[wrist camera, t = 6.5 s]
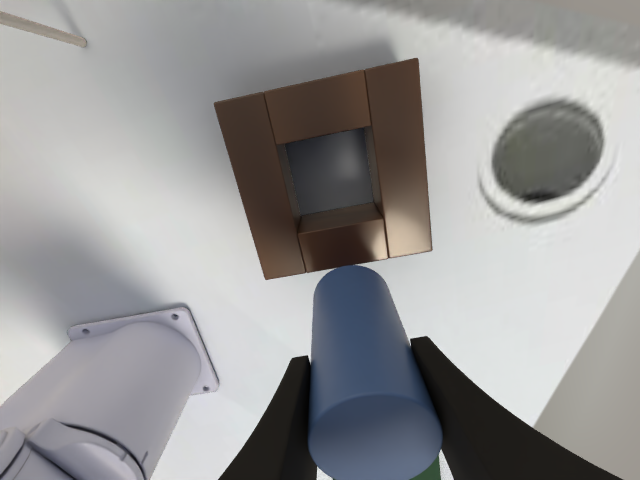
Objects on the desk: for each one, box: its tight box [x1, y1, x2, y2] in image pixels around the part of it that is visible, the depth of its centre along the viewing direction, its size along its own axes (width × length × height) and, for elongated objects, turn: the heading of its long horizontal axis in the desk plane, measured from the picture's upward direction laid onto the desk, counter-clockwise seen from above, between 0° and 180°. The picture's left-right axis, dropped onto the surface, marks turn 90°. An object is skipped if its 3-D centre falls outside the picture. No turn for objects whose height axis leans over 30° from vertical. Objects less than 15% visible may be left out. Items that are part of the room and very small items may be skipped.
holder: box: [214, 58, 432, 280], centre depth 18 cm, size 10×10×4 cm
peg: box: [307, 265, 443, 480], centre depth 13 cm, size 4×4×8 cm
